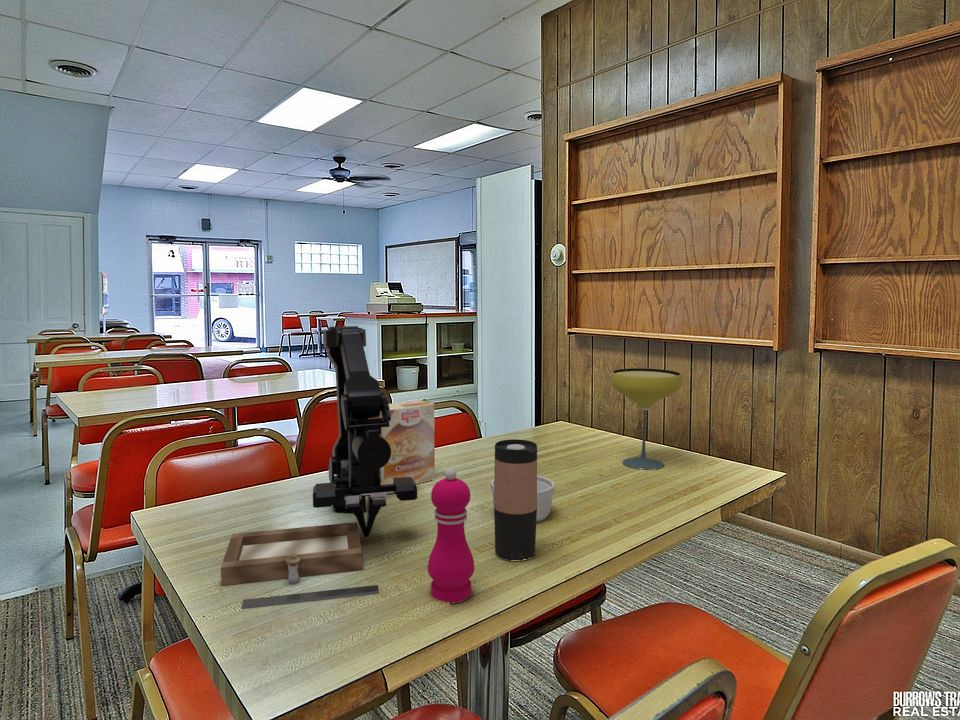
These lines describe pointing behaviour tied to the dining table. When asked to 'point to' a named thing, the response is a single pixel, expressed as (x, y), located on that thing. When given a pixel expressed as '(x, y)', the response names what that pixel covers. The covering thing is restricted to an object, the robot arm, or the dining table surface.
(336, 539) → the picture frame
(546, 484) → the ramekin
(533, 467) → the travel mug
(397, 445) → the coffeecake box
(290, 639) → the dining table surface
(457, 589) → the pepper mill
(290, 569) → the screw post
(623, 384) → the cocktail glass
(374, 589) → the strip
